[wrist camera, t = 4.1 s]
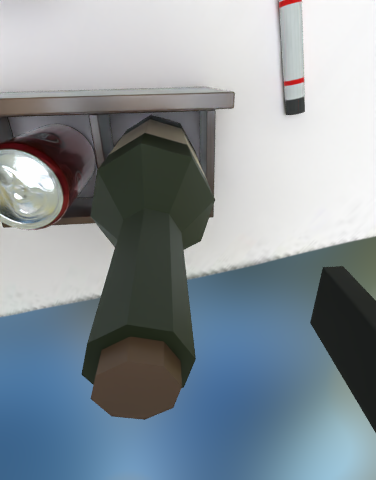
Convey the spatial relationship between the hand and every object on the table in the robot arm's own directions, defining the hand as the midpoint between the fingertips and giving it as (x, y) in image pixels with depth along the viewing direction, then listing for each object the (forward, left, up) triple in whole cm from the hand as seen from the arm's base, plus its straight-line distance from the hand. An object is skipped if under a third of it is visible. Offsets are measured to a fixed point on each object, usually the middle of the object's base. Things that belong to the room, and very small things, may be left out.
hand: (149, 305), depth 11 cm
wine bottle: (0, 0, -27) cm, 27 cm away
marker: (+14, +12, -27) cm, 32 cm away
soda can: (-11, 0, -27) cm, 29 cm away
